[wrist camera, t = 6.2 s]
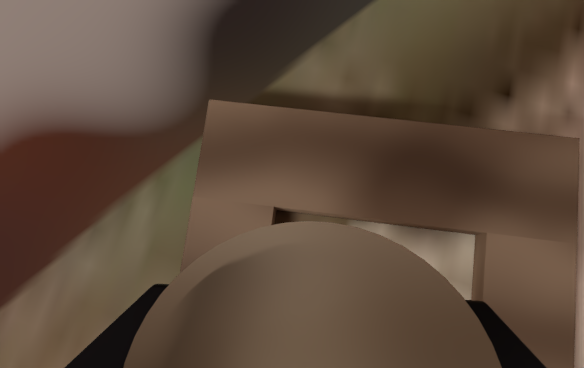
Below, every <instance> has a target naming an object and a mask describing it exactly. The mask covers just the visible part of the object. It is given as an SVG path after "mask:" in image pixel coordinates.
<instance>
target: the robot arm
mask: <svg viewBox="0 0 584 368" xmlns="http://www.w3.org/2000/svg"><path fill="white" fill-rule="evenodd" d="M168 286H169V284H155V285H153V286H152V287H150V288H149V289H148V290H147V291H146V292H145V293H144V294H143V295H142V296H141V297H140V298H139V299H138V300H137V301H135V302H134V303H133V304H132V305H131V306H130V307H129V308H128V309H127V310H126V311H125V312H124V313H123V314H122V315H120V316H119V317H118V318H117V319H116V320H115V321H114V322H113V323H112V324H111V325H110V326H109V327H108V328H107V329H105V330H104V331H103V332H102V333H101V334H100V335H99V336H98V337H97V338H96V339H95V340H94V341H93V342H92V343H91V344H89V345H88V346H87V347H86V348H85V349H84V350H83V351H82V352H81V353H80V354H79V355H78V356H77V357H76V358H74V359H73V360H72V361H71V362H70V363H69V364H68V365H67V366H66V367H65V368H123V367H124V363H125V360H126V358H127V355H128V352H129V350H130V347H131V345H132V342H133V339H134V337H135V335H136V333H137V331H138V330H139V328H140V326H141V324H142V322H143V320H144V318H145V316H146V315H147V313H148V312H149V310H150V309H151V307H152V306H153V305H154V303H155V302H156V300H157V299H158V297H159V296H160V295H161V293H162V292H163V291H164V290H165V289H166V288H167V287H168ZM465 301H466V302H467V304H468V305H469V306H470V308H471V309H472V310H473V312H474V313H475V315H476V316H477V317H478V319H479V321H480V322H481V324H482V326H483V328H484V330H485V331H486V333H487V335H488V337H489V339H490V341H491V342H492V345H493V347H494V350H495V352H496V355H497V357H498V360H499V362H500V364H501V367H502V368H547V367H546V366H545V365H544V364H543V363H542V362H541V361H540V360H539V359H538V358H537V357H536V356H535V354H534V353H533V352H532V351H531V350H530V349H529V348H528V347H527V346H526V345H525V344H524V343H523V342H522V341H521V339H520V338H519V337H518V336H517V335H516V334H515V333H514V332H513V331H512V330H511V329H510V328H509V327H508V325H507V324H506V323H505V322H504V321H503V320H502V319H501V318H500V317H499V316H498V315H497V314H496V313H495V312H494V310H493V309H492V308H491V307H490V306H489V305H488V304H487V303H485V302H483V301H476V300H465Z"/></svg>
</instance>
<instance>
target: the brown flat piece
mask: <svg viewBox="0 0 584 368" xmlns="http://www.w3.org/2000/svg"><path fill="white" fill-rule="evenodd" d="M578 172H579V138H570V137H561V136H551V135H542V134H532V133H523V132H513V131H504V130H494V129H484V128H475V127H465V126H456V125H446V124H437V123H427V122H418V121H408V120H399V119H389V118H380V117H370V116H361V115H351V114H342V113H332V112H323V111H313V110H304V109H294V108H285V107H275V106H266V105H256V104H247V103H237V102H228V101H217V100H209V104H208V110H207V116H206V122H205V128H204V134H203V140H202V146H201V151H200V157H199V163H198V169H197V175H196V181H195V187H194V193H193V199H192V205H191V211H190V217H189V223H188V229H187V235H186V241H185V246H184V252H183V258H182V264H181V270H180V273H181V272H182V271H183V270H184V269H186V268H187V267H188V266H189V265H190V264H191V263H193V262H194V261H195V260H196V259H197V258H199V257H200V256H202V255H203V254H205V253H206V252H208V251H209V250H211V249H212V248H214V247H215V246H217V245H219V244H221V243H223V242H225V241H227V240H229V239H231V238H233V237H235V236H237V235H240V234H243V233H246V232H249V231H252V230H255V229H258V228H261V227H265V226H270V225H275V219H276V211H277V210H280V211H288V212H296V213H304V214H312V215H320V216H328V217H336V218H345V219H353V220H361V221H369V222H377V223H385V224H393V225H401V226H409V227H417V228H425V229H433V230H442V231H450V232H458V233H466V234H474V235H475V251H474V267H473V283H472V299H471V300H476V301H483V302H485V303H487V304H488V305H489V306H490V307H491V308H492V309H493V310H494V312H495V313H496V314H497V315H498V316H499V317H500V318H501V319H502V320H503V321H504V322H505V323H506V324H507V325H508V327H509V328H510V329H511V330H512V331H513V332H514V333H515V334H516V335H517V336H518V337H519V338H520V339H521V341H522V342H523V343H524V344H525V345H526V346H527V347H528V348H529V349H530V350H531V351H532V352H533V353H534V354H535V356H536V357H537V358H538V359H539V360H540V361H541V362H542V363H543V364H544V365H545V366H546V367H547V368H574V338H575V297H576V255H577V214H578Z"/></svg>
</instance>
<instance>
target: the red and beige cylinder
mask: <svg viewBox="0 0 584 368" xmlns="http://www.w3.org/2000/svg"><path fill="white" fill-rule="evenodd" d="M123 368H502V367H501V364H500V362H499V360H498V357H497V355H496V352H495V350H494V347H493V345H492V342H491V341H490V339H489V337H488V335H487V333H486V331H485V330H484V328H483V326H482V324H481V322H480V321H479V319H478V317H477V316H476V315H475V313H474V312H473V310H472V309H471V308H470V306H469V305H468V304H467V302H466V301H465V299H464V298H463V297H462V296H461V294H460V293H459V292H458V291H457V290H456V289H455V288H454V287H453V286H452V285H451V284H450V283H449V282H448V280H447V279H446V278H445V277H444V276H443V275H441V274H440V273H439V272H438V271H437V270H435V269H434V268H433V267H432V266H431V265H430V264H428V263H427V262H426V261H425V260H423V259H422V258H420V257H419V256H417V255H416V254H414V253H413V252H411V251H409V250H408V249H406V248H405V247H403V246H401V245H399V244H397V243H395V242H393V241H391V240H389V239H387V238H385V237H383V236H381V235H378V234H375V233H372V232H369V231H366V230H363V229H360V228H357V227H352V226H347V225H342V224H337V223H330V222H315V221H302V222H287V223H280V224H275V225H270V226H265V227H261V228H258V229H255V230H252V231H249V232H246V233H243V234H240V235H237V236H235V237H233V238H231V239H229V240H227V241H225V242H223V243H221V244H219V245H217V246H215V247H214V248H212V249H211V250H209V251H208V252H206V253H205V254H203V255H202V256H200V257H199V258H197V259H196V260H195V261H194V262H193V263H191V264H190V265H189V266H188V267H187V268H186V269H184V270H183V271H182V272H181V273H180V274H179V275H178V276H177V277H176V278H175V279H174V280H173V281H172V282H171V283H170V284H169V286H168V287H167V288H166V289H165V290H164V291H163V292H162V293H161V295H160V296H159V297H158V299H157V300H156V302H155V303H154V305H153V306H152V307H151V309H150V310H149V312H148V313H147V315H146V316H145V318H144V320H143V322H142V324H141V326H140V328H139V330H138V331H137V333H136V335H135V337H134V339H133V342H132V345H131V347H130V350H129V352H128V355H127V358H126V360H125V363H124V367H123Z"/></svg>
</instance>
